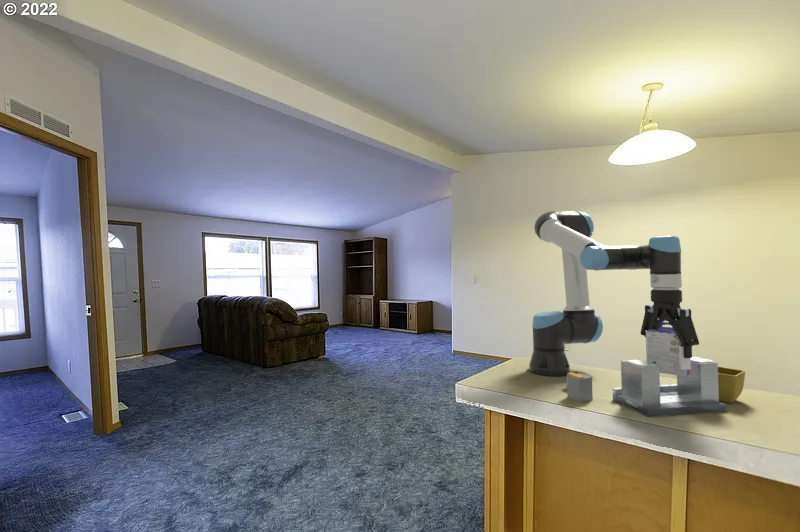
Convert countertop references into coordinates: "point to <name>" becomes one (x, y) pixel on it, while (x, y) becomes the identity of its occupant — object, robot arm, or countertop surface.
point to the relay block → (579, 387)
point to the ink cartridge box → (664, 350)
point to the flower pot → (730, 384)
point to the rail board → (669, 389)
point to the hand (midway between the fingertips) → (668, 364)
